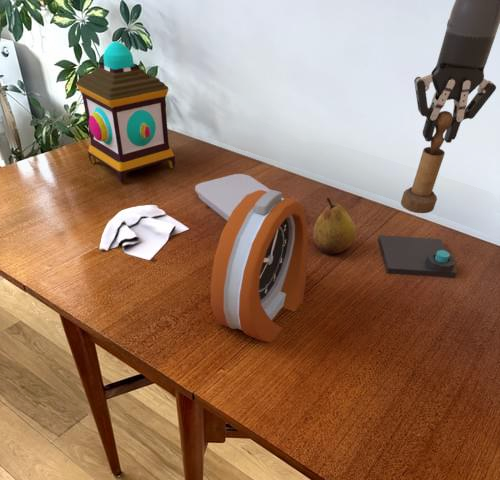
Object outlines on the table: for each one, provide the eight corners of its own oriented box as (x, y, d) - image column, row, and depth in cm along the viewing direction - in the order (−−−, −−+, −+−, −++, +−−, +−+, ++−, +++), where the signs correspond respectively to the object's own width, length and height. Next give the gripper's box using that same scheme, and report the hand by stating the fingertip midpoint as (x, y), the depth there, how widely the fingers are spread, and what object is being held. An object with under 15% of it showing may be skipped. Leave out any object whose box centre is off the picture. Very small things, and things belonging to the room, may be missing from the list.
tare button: (445, 256, 97) (448, 250, 96) (449, 263, 95) (451, 257, 94) (433, 255, 97) (435, 249, 96) (436, 262, 95) (438, 256, 94)
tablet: (243, 180, 126) (243, 171, 124) (304, 221, 110) (305, 213, 109) (190, 193, 118) (190, 185, 117) (248, 240, 103) (249, 231, 102)
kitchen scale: (439, 244, 105) (443, 232, 103) (454, 278, 96) (459, 266, 94) (377, 240, 106) (380, 228, 104) (387, 274, 96) (390, 262, 94)
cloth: (156, 201, 115) (155, 192, 113) (204, 241, 102) (203, 232, 101) (76, 224, 106) (74, 215, 104) (117, 271, 93) (115, 261, 91)
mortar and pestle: (419, 216, 91) (449, 120, 78) (393, 203, 94) (419, 109, 82) (440, 207, 94) (472, 114, 81) (414, 195, 97) (442, 103, 85)
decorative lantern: (120, 188, 119) (98, 56, 99) (82, 162, 130) (56, 38, 109) (183, 168, 130) (175, 44, 109) (143, 146, 140) (130, 29, 119)
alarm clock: (259, 357, 77) (268, 238, 62) (209, 335, 80) (206, 218, 65) (312, 288, 91) (330, 178, 76) (268, 272, 95) (276, 164, 79)
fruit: (357, 245, 104) (368, 195, 95) (339, 264, 98) (350, 212, 90) (322, 233, 107) (331, 183, 99) (304, 250, 101) (311, 199, 93)
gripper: (432, 32, 71) (402, 146, 82) (525, 37, 70) (482, 150, 82) (421, 23, 76) (395, 131, 88) (507, 27, 76) (469, 135, 88)
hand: (437, 140), depth 85 cm, fingers closed on mortar and pestle, 3 cm apart
